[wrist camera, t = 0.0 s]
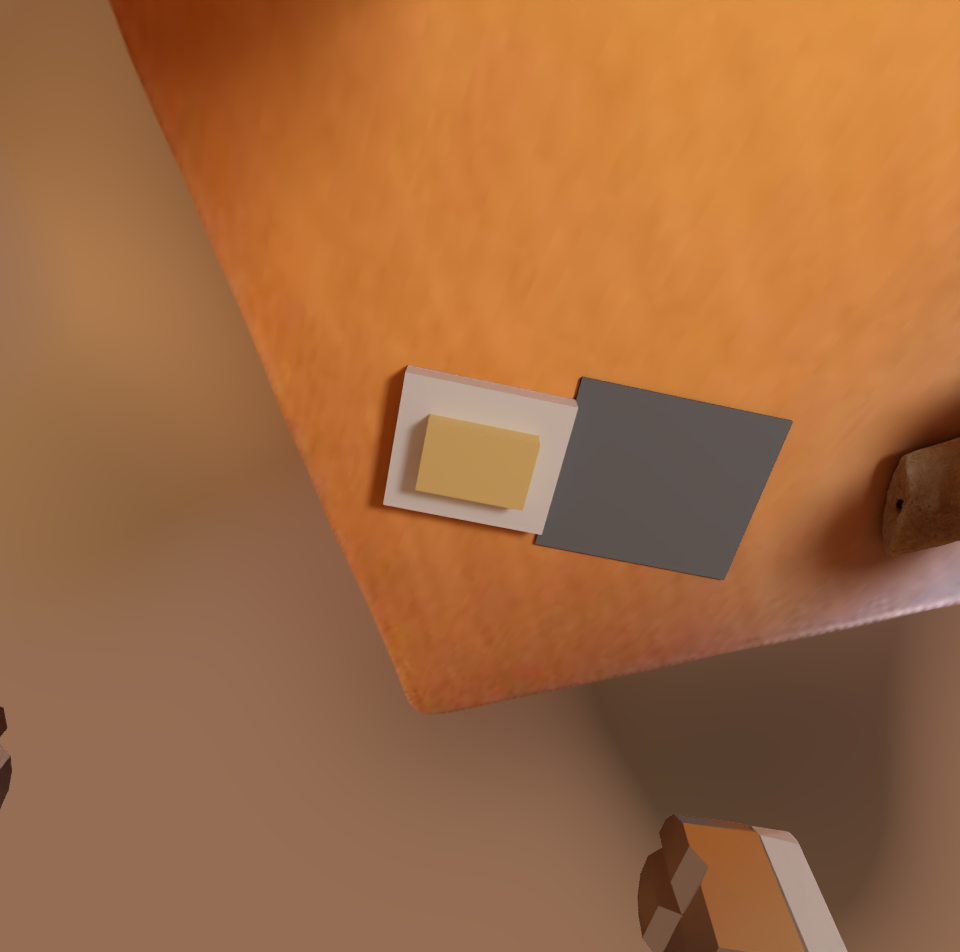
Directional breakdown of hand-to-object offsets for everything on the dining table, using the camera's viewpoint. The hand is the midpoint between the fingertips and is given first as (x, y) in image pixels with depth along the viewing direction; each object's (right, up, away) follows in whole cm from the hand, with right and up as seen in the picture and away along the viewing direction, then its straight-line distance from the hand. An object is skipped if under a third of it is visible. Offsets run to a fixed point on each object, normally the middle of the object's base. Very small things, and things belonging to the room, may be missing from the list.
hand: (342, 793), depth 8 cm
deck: (+1, +6, +50) cm, 51 cm away
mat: (+17, +3, +51) cm, 54 cm away
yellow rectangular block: (+1, +5, +48) cm, 49 cm away
